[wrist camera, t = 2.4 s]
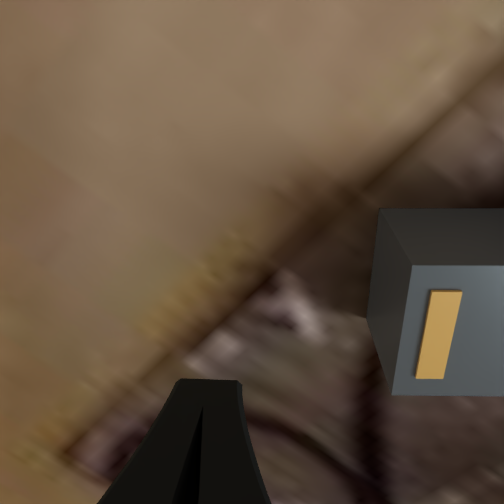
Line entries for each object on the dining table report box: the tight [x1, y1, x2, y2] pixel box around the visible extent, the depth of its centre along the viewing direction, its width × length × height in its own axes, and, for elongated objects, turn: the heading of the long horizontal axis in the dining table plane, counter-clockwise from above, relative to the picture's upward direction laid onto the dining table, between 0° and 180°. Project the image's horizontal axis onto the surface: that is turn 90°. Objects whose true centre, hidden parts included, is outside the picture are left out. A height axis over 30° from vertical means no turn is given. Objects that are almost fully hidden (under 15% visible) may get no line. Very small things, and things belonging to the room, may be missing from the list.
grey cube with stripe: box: [366, 208, 504, 396], centre depth 15 cm, size 4×7×4 cm, turn 91°
